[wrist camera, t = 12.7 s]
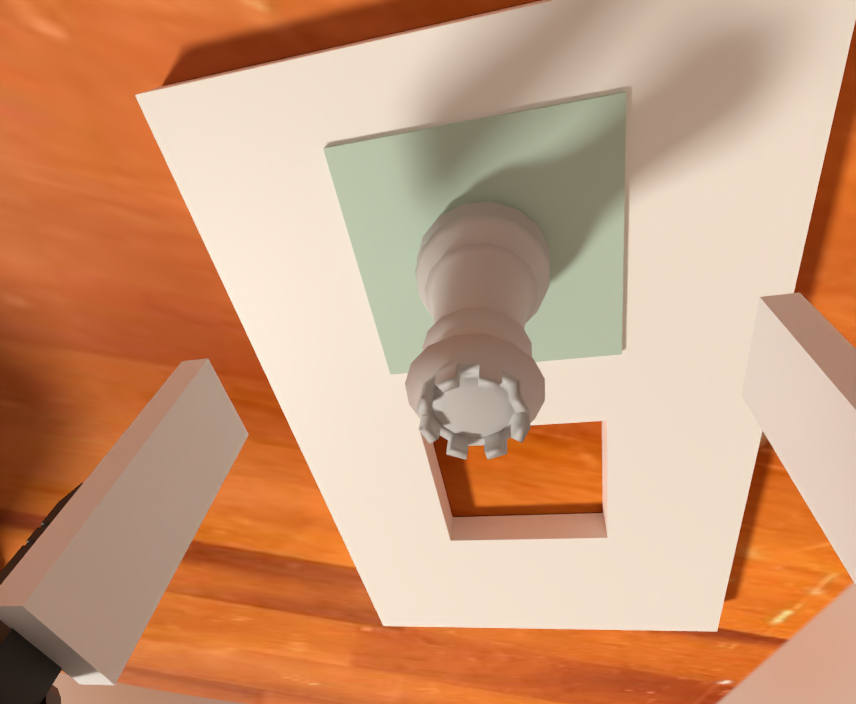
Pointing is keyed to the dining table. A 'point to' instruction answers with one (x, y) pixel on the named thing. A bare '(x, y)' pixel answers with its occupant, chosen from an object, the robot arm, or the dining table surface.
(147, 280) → the dining table surface
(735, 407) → the hole board
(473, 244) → the rook chess piece
